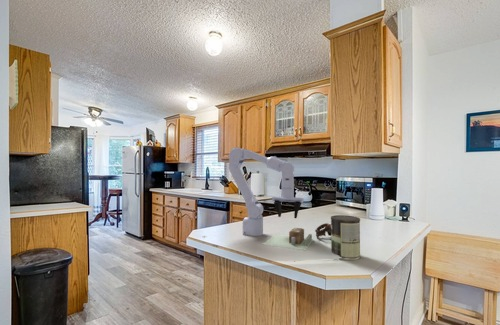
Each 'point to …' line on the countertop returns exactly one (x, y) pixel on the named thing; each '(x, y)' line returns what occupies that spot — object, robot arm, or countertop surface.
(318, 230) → the brown clay pot
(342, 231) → the coffee can
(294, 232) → the brown block
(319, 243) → the countertop surface
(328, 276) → the countertop surface
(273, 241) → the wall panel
